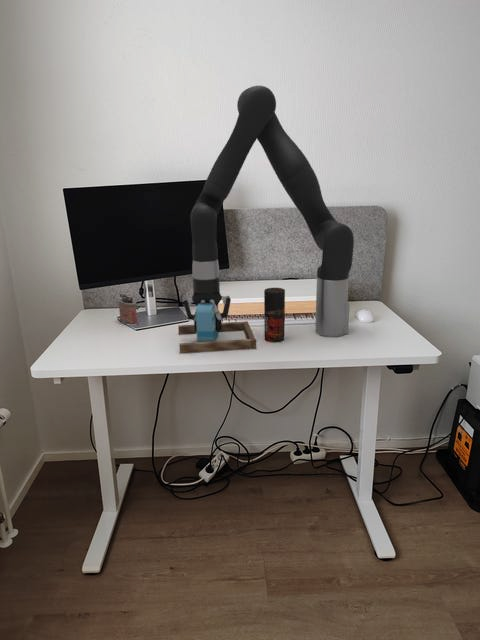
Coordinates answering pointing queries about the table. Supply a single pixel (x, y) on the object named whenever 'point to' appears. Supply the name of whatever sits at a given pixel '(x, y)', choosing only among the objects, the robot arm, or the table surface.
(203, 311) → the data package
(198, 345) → the walnut u-shaped frame
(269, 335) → the deodorant
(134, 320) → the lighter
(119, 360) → the table surface
